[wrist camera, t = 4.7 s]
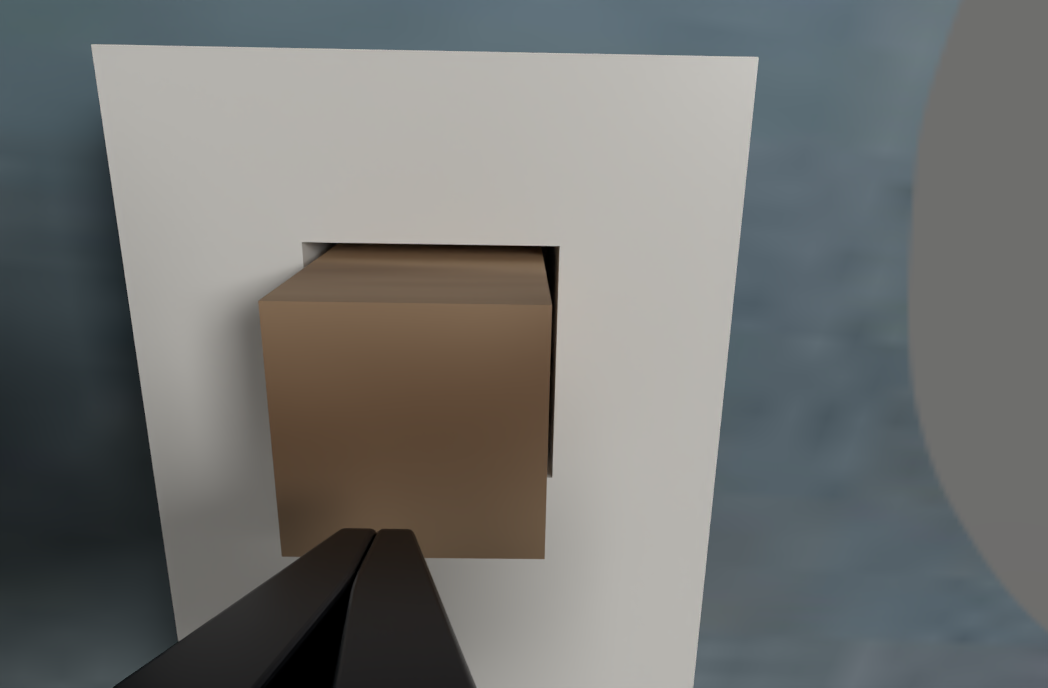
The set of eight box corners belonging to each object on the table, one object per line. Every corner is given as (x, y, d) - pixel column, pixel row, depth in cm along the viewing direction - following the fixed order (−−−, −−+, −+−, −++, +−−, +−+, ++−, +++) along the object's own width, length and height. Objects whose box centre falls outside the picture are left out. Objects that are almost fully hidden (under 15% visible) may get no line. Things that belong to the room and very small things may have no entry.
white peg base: (630, 792, 26) (662, 982, 20) (291, 790, 26) (227, 981, 20) (685, 74, 19) (758, 57, 13) (220, 65, 19) (91, 44, 13)
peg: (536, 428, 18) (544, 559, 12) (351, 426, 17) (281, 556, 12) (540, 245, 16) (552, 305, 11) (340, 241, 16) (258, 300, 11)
